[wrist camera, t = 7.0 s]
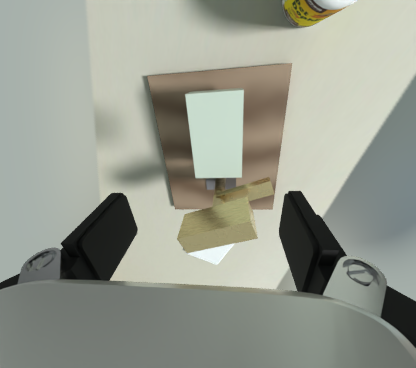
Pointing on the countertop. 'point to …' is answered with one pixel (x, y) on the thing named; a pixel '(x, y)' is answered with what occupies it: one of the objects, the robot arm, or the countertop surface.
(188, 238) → the key
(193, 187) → the base
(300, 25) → the supplement bottle
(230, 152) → the mint green block
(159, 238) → the countertop surface
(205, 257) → the external hard drive
